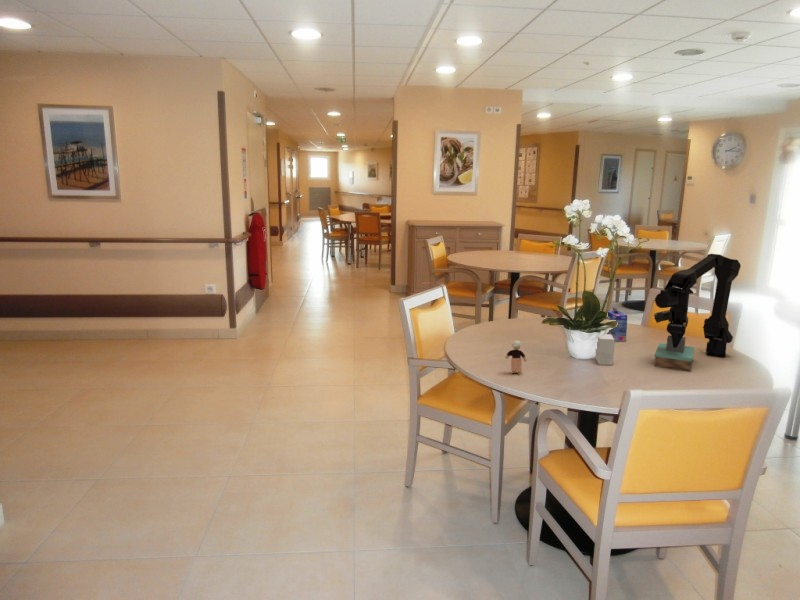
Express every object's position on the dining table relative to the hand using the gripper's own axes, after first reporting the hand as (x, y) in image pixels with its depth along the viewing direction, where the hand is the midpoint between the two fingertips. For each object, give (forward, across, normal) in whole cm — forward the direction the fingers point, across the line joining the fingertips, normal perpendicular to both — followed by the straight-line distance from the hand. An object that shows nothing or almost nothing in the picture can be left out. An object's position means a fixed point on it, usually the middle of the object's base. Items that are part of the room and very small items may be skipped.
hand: (675, 344), depth 207 cm
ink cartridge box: (+8, -25, -26) cm, 37 cm away
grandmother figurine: (+8, +42, -50) cm, 66 cm away
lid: (+3, 0, 0) cm, 4 cm away
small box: (+8, +12, -24) cm, 28 cm away
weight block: (+2, 0, 0) cm, 2 cm away
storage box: (+8, 0, 0) cm, 8 cm away
